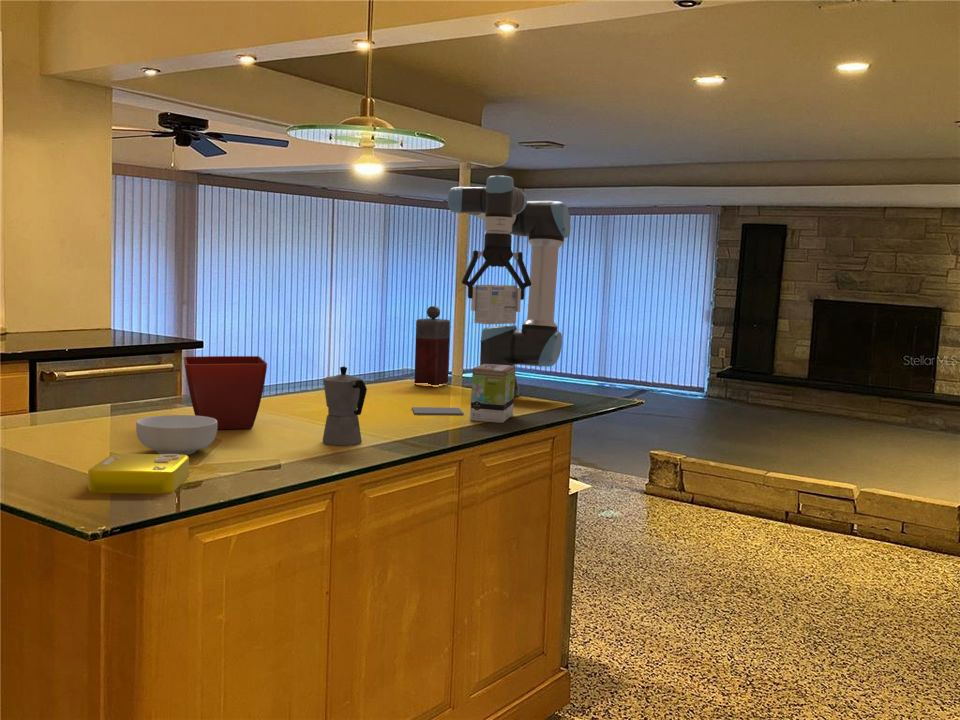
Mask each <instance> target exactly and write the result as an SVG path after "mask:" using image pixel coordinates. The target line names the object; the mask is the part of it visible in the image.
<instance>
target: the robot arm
mask: <svg viewBox="0 0 960 720" xmlns="http://www.w3.org/2000/svg"><path fill="white" fill-rule="evenodd" d="M514 183H515V181H514V178H513V177H512V176H508V175H490V176H488V177H487V179H486V185H485V186H463V185H462V186H454V187H451V188H450V189H449V191H448V195H447V204H448V209H449V210H450V212H452V213H456V214H468V215H470V216H473V217H475V218H477V219H481V220H482V221H484V232H485V234H484V242H483V244H484V246H483V251H482V250H481V251H478V250H477V249H476V250H473V251H472V254H471V260H470V262H469V264H468V266H467V269H466V270H465V273H464V275H463V277H462V280H461V284H462V285H465V286H466V287H467V298H468V299H471V301H470V303H471V304H470V311H473V312H475V298H476V287H475V285H476V283H477V282H478V280H479V279H480V278H481V276H482V275H483V274H484V272H485V271H486V270H487V269H488V268H489V267H491V268H495V267H499V268H504V267H505V269H507V271H508V273H509V274H510V275H511V277H512V278H513V280H514V281H515V283H516V284H517V306H516V313H519V312H521V301H524V299H525V289H526V288H528V287H529V289H528V290H529V291H528V304H527V318H526V320H525V321H524V322H523V323H521V324H522V325H521V329H518V327H517V324H508V325H507V324H503V325H496V326H486V327H484V328H483V329H482V330H481V336H480V357H479V358H480V362H479V366H480V365H482V364H497V365H510V366H515V367H516V365H518V366H531V367H540V368H542V367H548V368H549V367H553V366H555V364H556V363H557V362H558V360H559V358H560V354H561V351H562V348H563V347H562V346H563V334H562V332H560V331H559V330H558V325H557V324H556V323H555V321H554V315H555V300H556V291H557V289H556V287H557V274H558V273H557V272H558V262H559V261H558V260H559V249H560V247H561V246H564V244H565V242H564V241H565V239H567V238H569V237H570V234H571V217H570V211H569V209H568V206H567V205H566V203H565V202H563V201H559V200H557V201H556V200H527V195H526V194H525V192H524V191H523V190H521V189H520V188H518V187H515V185H514ZM513 236H518V237H528V243H529V244H530V245H531V247H532V248H531V263H530V264H531V265H530V275H529V274H528V270H527V269H526V266H525V265H526V264H525V263H524V260H523V259H524V257H523V252H521V251H517V252H513V251H512V242H513V240H512V237H513ZM481 257H483V259H484V260H485V261H484V262H483V264H482V265H481V266H480V267H479V269H478V270H477V271H476V272H475V274H474V275H473V277H472V278H471V279H470V277H471V275H472V272H473V271H474V269H475V266H476V263H477V261H478V259H480V258H481ZM512 257H513V259H514V260H516V262H517V265H518V268H519V270H520V273H521V275H522V279H523V280H522V279H521V277H520V276H519V274H518V273H517V272H516V270H515V268H514V267H513V265H512V264H511V262H510V260H512ZM529 276H530V277H529ZM469 279H470V281H469ZM519 396H520V386H519V383H518V380H517V375H516V374H515V387H514V398H515V397H519Z"/></svg>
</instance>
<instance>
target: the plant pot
mask: <svg viewBox="0 0 960 720" xmlns="http://www.w3.org/2000/svg"><path fill="white" fill-rule="evenodd" d="M183 363H184V369H185V376H186V381H187V387H188V391H189V392H188V393H189V397H190V401H191V405H192V409H193V412H194V413H193V414H194V416H205V417H211V418H214V419H216V420H217V424H218V425H217V430H233V429H234V430H235V429H238V430H239V429H253V427H254V424H255V422H256V419H257V416H258V411H259V410H260V409H259V408H260V404H261V401H262V396H263V392H264V389H265V388H264V387H265V382H266V377H267V376H266V375H267V369H268V363H267V362H266V361H265V360H264V359H263V358H262V357H261V356H259V355H257V356H255V355H253V356H252V355H244V356H243V355H233V356H232V355H225V356H224V355H223V356H222V355H220V356H219V355H218V356H217V355H215V356H210V355H209V356H184V357H183Z"/></svg>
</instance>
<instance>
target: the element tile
mask: <svg viewBox="0 0 960 720" xmlns="http://www.w3.org/2000/svg"><path fill="white" fill-rule="evenodd" d="M189 477H190V458H189V455H178V454H158V453H157V454H155V453H152V454H151V453H114V454H111V455H109V456H107V457H105V458H104V459H103V460H101V461H100V462H98V463H97V464H95V465H94V466H92V467H90V468H89V469H88V470H87V479H88V480H87V482H88V483H87V487H88V488H87V489H88V491H87V492H89V493H92V494H93V493H94V494H153V495H154V494H157V495H159V494H160V495H161V494H162V495H163V494H169V493H172V492H173V493H174V492H175V491H176V490H177V489H178V488H179V487H180V486H181V485H182V484H183V483H184V482H185V481H186V480H187V479H188V478H189Z"/></svg>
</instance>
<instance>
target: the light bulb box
mask: <svg viewBox="0 0 960 720" xmlns="http://www.w3.org/2000/svg"><path fill="white" fill-rule="evenodd" d="M474 287H476V298H475V311H474V324H481V325H489V326H490V325H507V324H508V325H513V324H517V312H516V306H517V288H518V285H511V284H474Z"/></svg>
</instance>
